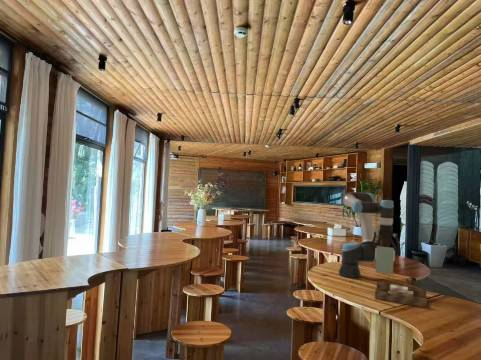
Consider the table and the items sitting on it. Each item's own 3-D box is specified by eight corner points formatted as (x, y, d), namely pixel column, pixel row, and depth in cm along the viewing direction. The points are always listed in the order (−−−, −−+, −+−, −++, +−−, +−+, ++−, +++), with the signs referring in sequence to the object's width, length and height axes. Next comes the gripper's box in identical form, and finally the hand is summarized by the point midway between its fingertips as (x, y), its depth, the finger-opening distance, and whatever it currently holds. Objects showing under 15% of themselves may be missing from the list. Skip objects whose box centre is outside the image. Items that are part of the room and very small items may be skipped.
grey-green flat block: (375, 271, 217) (376, 246, 217) (375, 271, 219) (376, 246, 220) (392, 274, 213) (393, 248, 213) (393, 273, 215) (394, 248, 215)
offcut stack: (387, 297, 194) (388, 286, 194) (388, 294, 199) (388, 284, 200) (413, 301, 188) (413, 290, 188) (413, 298, 194) (413, 288, 194)
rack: (374, 298, 195) (375, 287, 195) (377, 291, 208) (377, 281, 208) (426, 308, 183) (427, 295, 183) (425, 300, 197) (425, 288, 197)
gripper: (366, 223, 218) (365, 258, 218) (405, 226, 208) (404, 263, 208) (367, 222, 225) (366, 256, 224) (406, 225, 215) (404, 261, 214)
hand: (384, 259), depth 216 cm, fingers closed on grey-green flat block, 10 cm apart
